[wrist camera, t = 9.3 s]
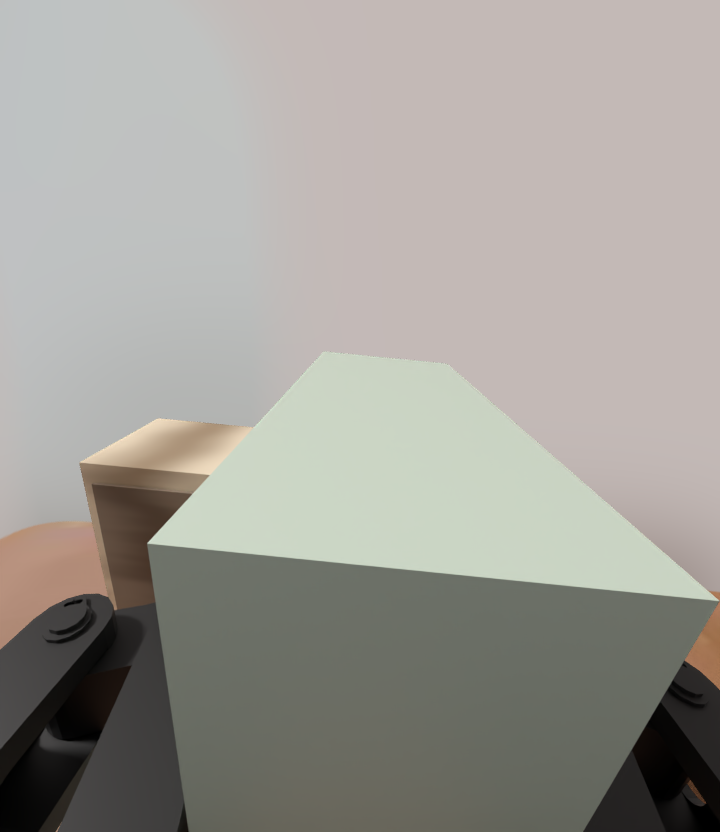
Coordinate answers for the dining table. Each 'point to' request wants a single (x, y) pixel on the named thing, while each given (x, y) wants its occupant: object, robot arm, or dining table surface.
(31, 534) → the dining table surface
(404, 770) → the pale green block
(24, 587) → the dining table surface
